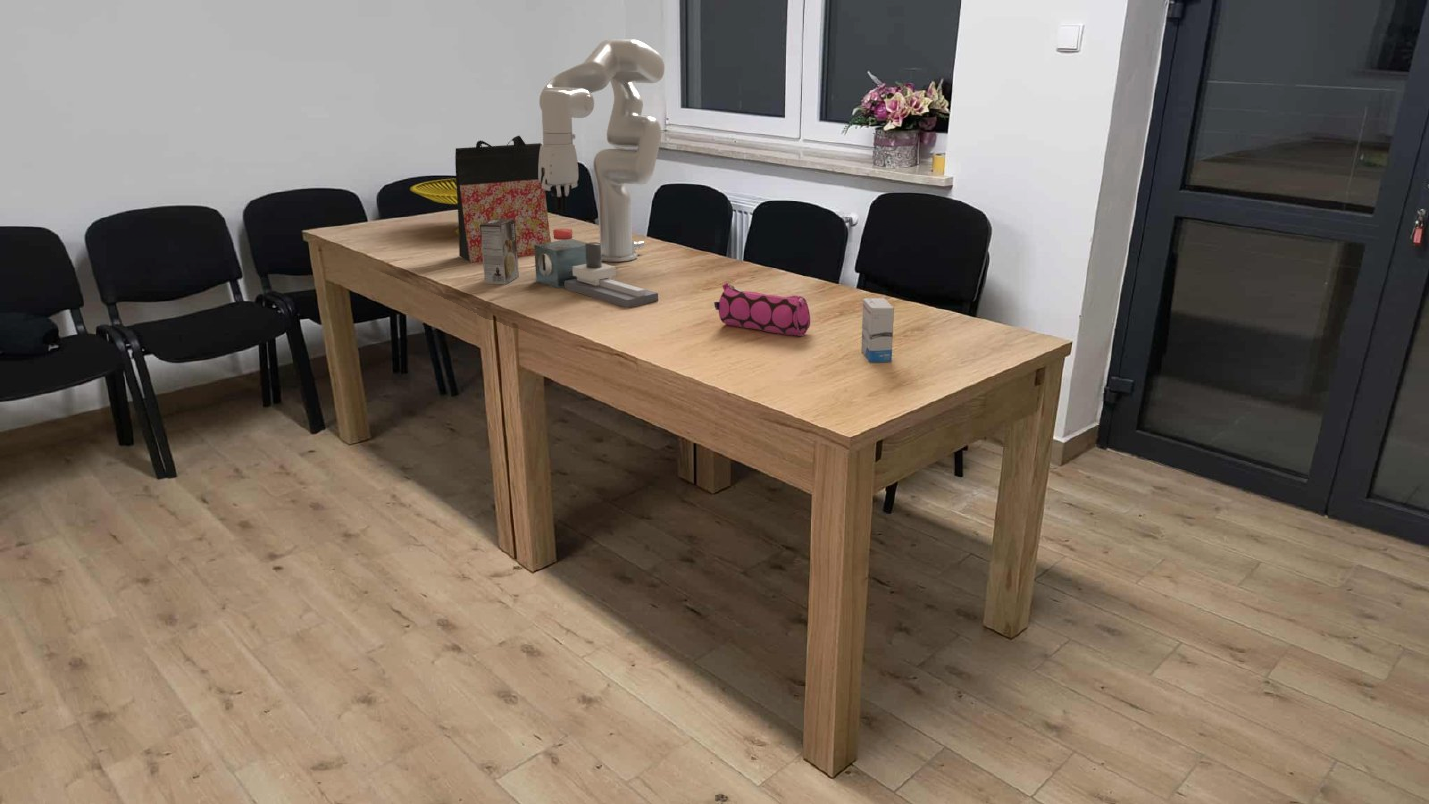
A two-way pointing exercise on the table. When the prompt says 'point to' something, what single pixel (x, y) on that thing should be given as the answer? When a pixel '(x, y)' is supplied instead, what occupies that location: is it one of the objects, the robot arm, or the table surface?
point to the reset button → (562, 234)
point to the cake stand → (438, 192)
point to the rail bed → (613, 292)
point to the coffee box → (499, 251)
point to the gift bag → (500, 195)
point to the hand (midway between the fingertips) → (560, 211)
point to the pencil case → (763, 311)
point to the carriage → (593, 266)
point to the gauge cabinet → (558, 261)
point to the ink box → (877, 330)
